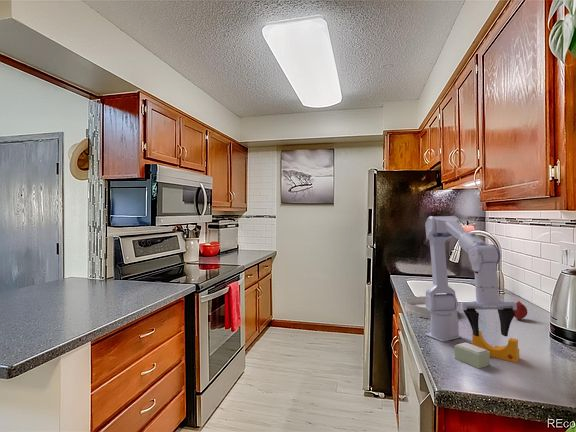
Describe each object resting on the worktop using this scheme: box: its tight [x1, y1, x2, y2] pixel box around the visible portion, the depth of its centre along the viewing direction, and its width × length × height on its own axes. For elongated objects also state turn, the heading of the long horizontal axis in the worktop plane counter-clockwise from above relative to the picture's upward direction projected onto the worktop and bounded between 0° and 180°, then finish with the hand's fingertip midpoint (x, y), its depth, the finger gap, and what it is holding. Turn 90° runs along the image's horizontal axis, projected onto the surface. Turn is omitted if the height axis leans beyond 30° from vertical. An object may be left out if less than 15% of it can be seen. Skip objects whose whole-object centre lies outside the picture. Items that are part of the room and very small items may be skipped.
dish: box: [404, 296, 458, 320], centre depth 157 cm, size 22×22×5 cm
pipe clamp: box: [472, 330, 520, 363], centre depth 110 cm, size 12×4×6 cm, turn 45°
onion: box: [513, 299, 528, 321], centre depth 145 cm, size 6×6×8 cm
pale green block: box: [454, 342, 491, 369], centre depth 105 cm, size 5×8×4 cm, turn 26°
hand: (490, 335), depth 98 cm, fingers open, 7 cm apart
